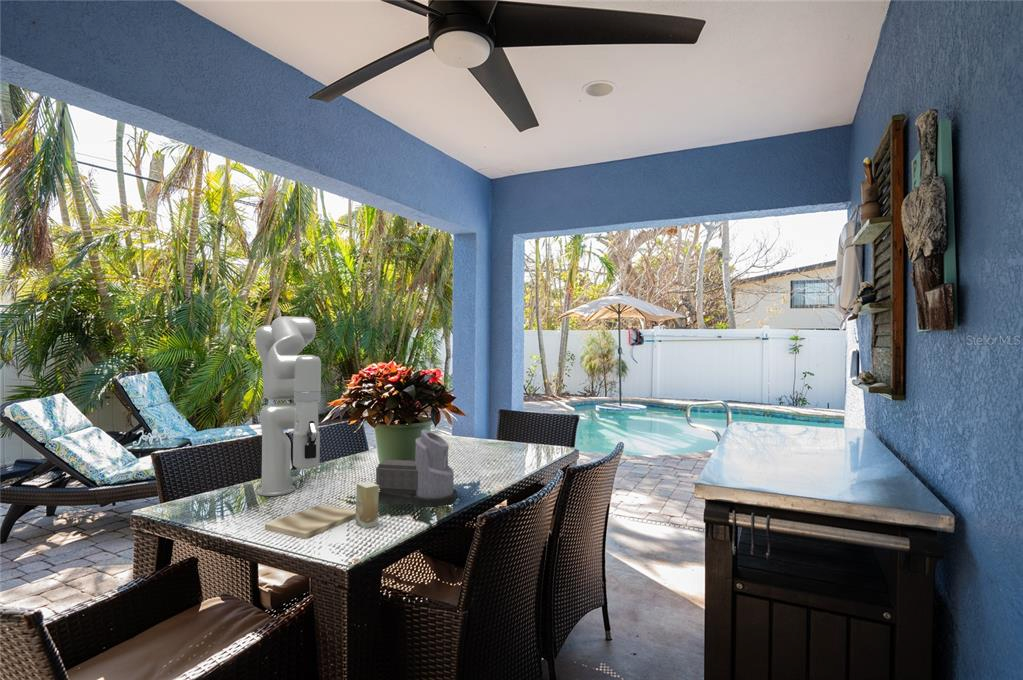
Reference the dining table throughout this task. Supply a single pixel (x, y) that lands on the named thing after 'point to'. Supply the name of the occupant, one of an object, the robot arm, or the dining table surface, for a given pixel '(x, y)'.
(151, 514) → the dining table surface
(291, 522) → the oak board
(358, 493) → the skincare box
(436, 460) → the juicer
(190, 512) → the dining table surface
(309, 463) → the can
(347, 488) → the dining table surface
